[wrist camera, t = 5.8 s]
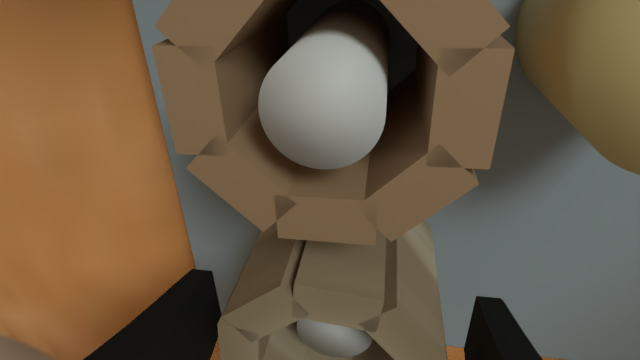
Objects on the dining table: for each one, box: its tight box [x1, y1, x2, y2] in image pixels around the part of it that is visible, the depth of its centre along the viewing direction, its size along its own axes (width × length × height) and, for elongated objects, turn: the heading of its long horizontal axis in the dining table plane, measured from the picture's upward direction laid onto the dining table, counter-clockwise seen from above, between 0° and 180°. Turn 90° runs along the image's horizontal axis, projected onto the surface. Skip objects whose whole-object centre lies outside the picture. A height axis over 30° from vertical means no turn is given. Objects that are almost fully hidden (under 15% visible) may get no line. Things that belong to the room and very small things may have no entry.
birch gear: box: [217, 220, 448, 360], centre depth 12 cm, size 5×5×5 cm
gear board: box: [132, 0, 640, 360], centre depth 10 cm, size 20×16×7 cm
